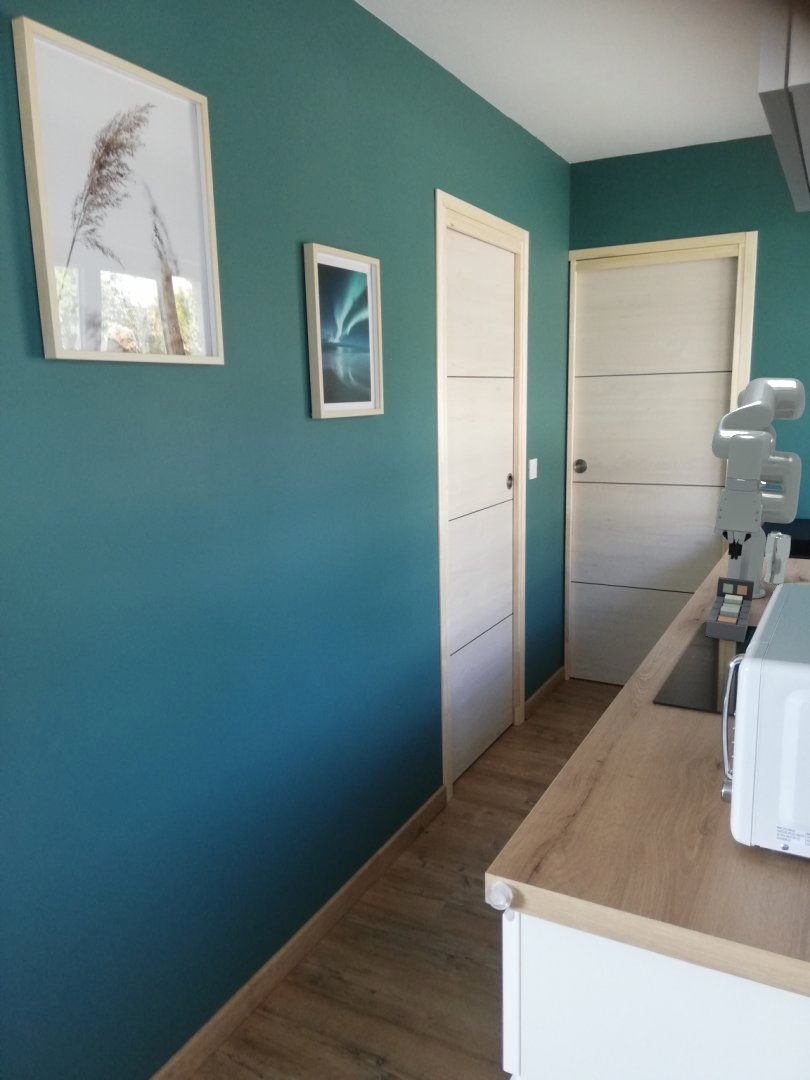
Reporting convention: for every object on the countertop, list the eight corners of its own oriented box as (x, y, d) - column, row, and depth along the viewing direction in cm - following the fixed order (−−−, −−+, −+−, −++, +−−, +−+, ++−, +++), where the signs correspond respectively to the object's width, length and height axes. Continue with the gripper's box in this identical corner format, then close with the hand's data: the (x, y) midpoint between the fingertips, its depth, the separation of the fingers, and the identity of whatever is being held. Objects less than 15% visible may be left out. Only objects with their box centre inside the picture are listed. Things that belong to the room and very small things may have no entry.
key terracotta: (718, 621, 203) (719, 615, 203) (736, 624, 202) (736, 618, 201) (716, 626, 200) (717, 620, 199) (734, 629, 198) (735, 622, 198)
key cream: (725, 599, 220) (725, 594, 219) (741, 602, 218) (742, 596, 217) (723, 603, 216) (724, 598, 215) (740, 606, 214) (741, 600, 214)
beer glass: (788, 586, 248) (794, 538, 244) (764, 584, 249) (769, 537, 246) (782, 580, 254) (788, 534, 251) (759, 578, 256) (764, 532, 252)
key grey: (721, 612, 209) (721, 606, 208) (738, 614, 207) (739, 608, 206) (719, 616, 205) (720, 610, 205) (737, 618, 203) (737, 612, 203)
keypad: (715, 608, 224) (719, 576, 222) (750, 612, 220) (754, 581, 218) (705, 636, 200) (708, 601, 198) (743, 642, 196) (747, 607, 194)
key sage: (722, 608, 214) (723, 603, 214) (739, 611, 212) (740, 605, 212) (721, 613, 211) (722, 607, 210) (738, 615, 209) (739, 609, 208)
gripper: (776, 485, 194) (767, 558, 199) (711, 480, 201) (704, 551, 205) (775, 490, 188) (766, 565, 192) (707, 484, 194) (700, 558, 198)
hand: (734, 558), depth 199 cm, fingers closed
